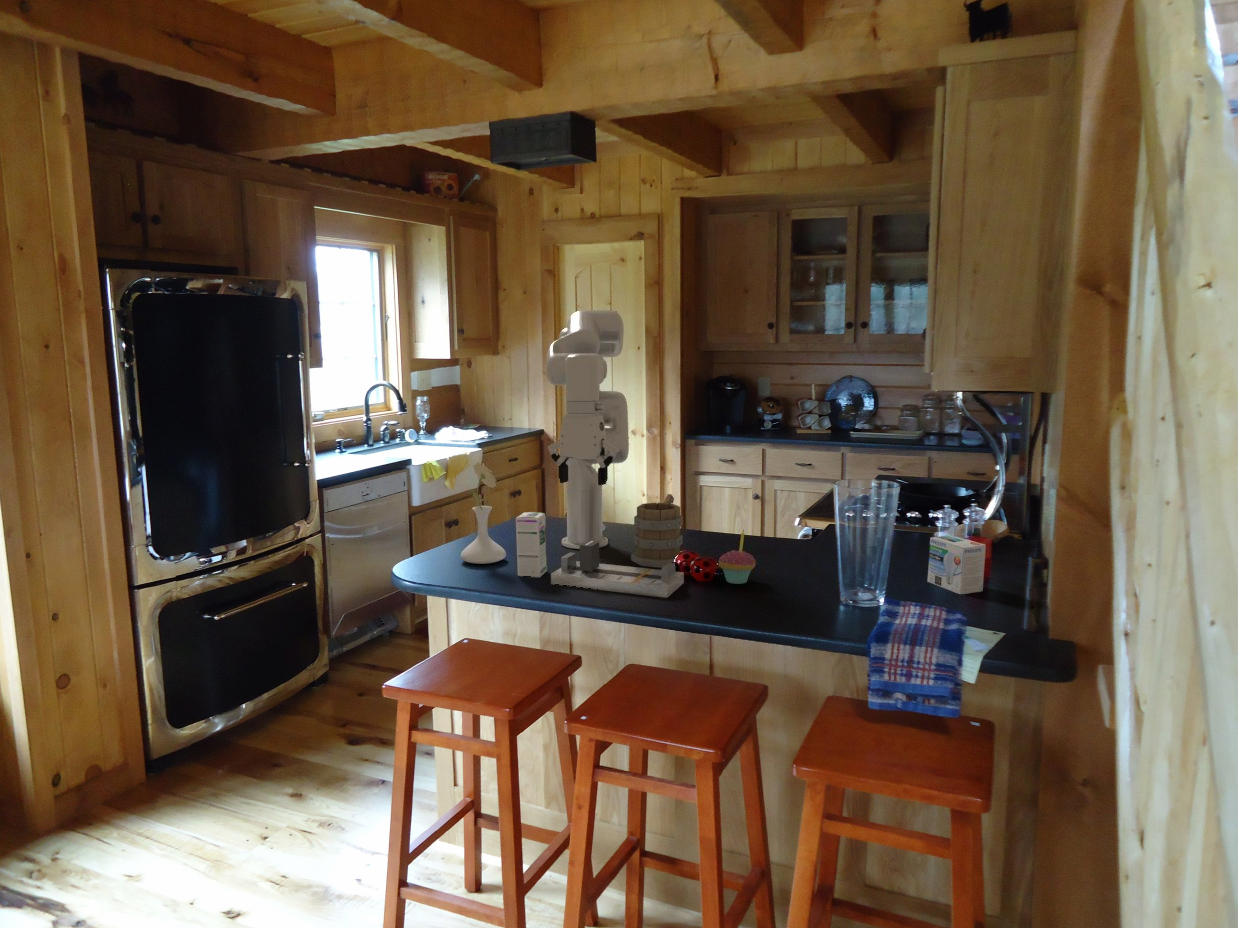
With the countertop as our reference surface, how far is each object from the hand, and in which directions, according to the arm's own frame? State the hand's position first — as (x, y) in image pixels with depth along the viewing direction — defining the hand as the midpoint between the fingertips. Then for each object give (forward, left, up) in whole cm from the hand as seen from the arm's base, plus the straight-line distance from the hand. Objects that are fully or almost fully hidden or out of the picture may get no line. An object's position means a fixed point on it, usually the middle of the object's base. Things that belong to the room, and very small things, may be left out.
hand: (582, 483), depth 201 cm
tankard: (-26, +11, -23) cm, 36 cm away
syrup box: (0, -13, -23) cm, 27 cm away
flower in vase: (-6, -30, -23) cm, 39 cm away
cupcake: (-12, +34, -23) cm, 42 cm away
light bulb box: (-26, +81, -23) cm, 88 cm away
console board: (0, +9, -23) cm, 24 cm away
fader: (0, +2, -20) cm, 20 cm away
